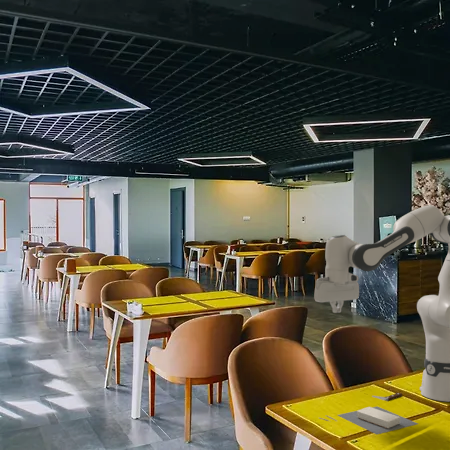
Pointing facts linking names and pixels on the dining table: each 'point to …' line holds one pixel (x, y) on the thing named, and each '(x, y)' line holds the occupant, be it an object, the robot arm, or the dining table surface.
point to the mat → (373, 427)
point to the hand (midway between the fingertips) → (336, 312)
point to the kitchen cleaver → (389, 396)
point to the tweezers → (327, 420)
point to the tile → (378, 417)
